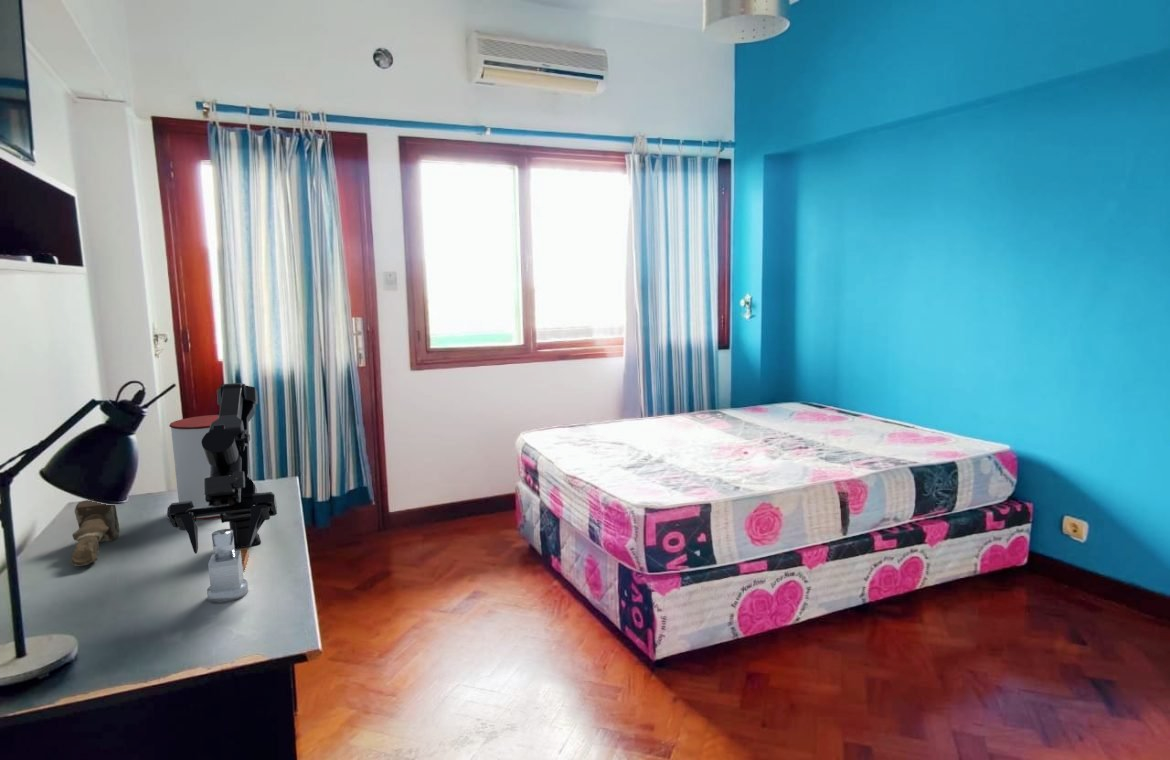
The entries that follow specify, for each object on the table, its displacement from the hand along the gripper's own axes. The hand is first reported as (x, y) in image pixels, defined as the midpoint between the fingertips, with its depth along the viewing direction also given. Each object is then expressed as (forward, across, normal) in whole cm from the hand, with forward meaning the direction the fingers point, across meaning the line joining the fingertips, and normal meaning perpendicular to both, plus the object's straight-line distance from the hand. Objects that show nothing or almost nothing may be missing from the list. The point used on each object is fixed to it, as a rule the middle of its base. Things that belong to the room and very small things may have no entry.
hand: (222, 548), depth 127 cm
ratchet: (+1, 0, +14) cm, 14 cm away
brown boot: (-20, -32, +34) cm, 51 cm away
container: (-36, -10, +51) cm, 63 cm away
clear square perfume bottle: (+5, 0, +7) cm, 8 cm away
